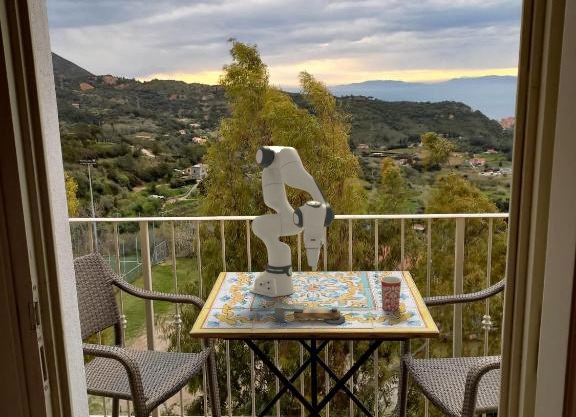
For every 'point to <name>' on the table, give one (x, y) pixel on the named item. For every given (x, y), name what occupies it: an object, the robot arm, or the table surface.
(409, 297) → the table surface
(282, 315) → the keeper
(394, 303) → the mug
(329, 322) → the pivot base
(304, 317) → the walnut link
